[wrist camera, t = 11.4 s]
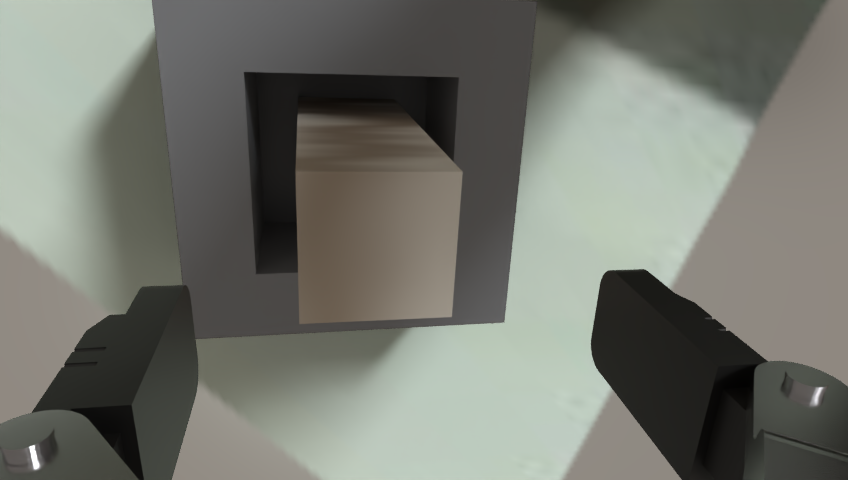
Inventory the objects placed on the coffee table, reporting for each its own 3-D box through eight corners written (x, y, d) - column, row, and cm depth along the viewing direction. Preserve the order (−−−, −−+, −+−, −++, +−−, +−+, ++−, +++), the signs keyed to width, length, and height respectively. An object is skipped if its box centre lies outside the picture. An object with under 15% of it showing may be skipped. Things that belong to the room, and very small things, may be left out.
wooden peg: (394, 99, 26) (462, 172, 15) (391, 189, 27) (451, 317, 16) (298, 96, 25) (295, 171, 14) (300, 190, 26) (299, 324, 16)
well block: (484, 1, 26) (537, 1, 20) (465, 260, 30) (504, 322, 24) (186, -14, 24) (149, -19, 18) (212, 269, 28) (188, 339, 22)
